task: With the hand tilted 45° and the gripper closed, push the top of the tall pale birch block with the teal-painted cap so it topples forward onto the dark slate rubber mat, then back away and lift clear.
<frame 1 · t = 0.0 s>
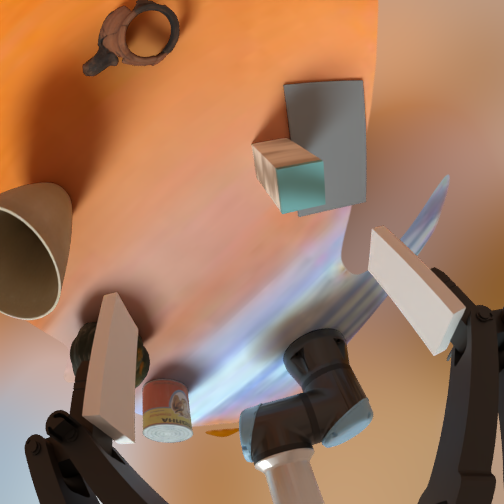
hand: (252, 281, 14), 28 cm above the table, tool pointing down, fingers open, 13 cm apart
plant pot: (51, 206, 36), on the table
vr controller: (131, 42, 27), on the table
squash: (111, 336, 52), on the table
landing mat: (330, 147, 41), on the table
canned food: (165, 390, 65), on the table
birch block: (271, 157, 40), on the table
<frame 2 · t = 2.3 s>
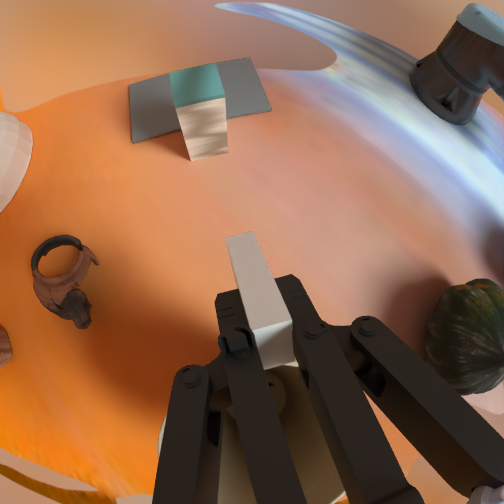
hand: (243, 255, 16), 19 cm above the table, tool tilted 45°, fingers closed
plant pot: (255, 397, 32), on the table
vr controller: (79, 288, 34), on the table
squash: (448, 337, 34), on the table
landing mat: (195, 95, 39), on the table
cupcake: (4, 347, 31), on the table
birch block: (206, 141, 38), on the table
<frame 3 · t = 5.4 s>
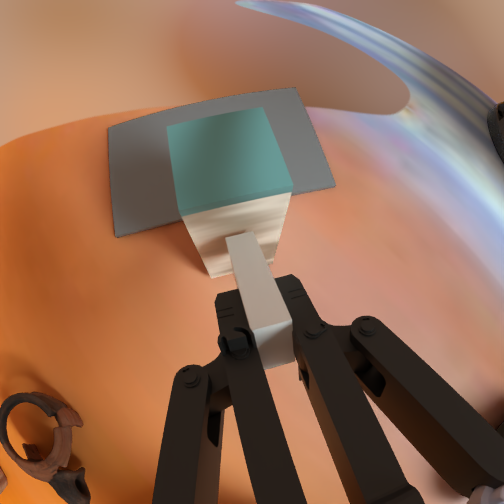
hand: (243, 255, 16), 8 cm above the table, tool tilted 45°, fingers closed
vr controller: (64, 441, 20), on the table
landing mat: (212, 151, 26), on the table
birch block: (234, 242, 25), on the table, tilted 7°
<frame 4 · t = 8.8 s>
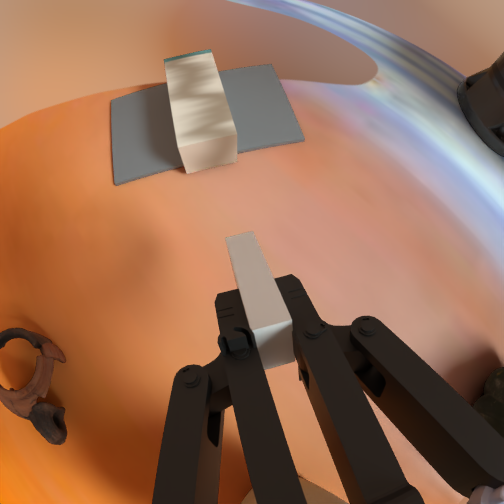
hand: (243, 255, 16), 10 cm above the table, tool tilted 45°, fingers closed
plant pot: (282, 500, 22), on the table
vr controller: (48, 384, 24), on the table
squash: (487, 410, 25), on the table
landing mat: (199, 115, 30), on the table
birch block: (209, 155, 26), point 3 cm above the table, tilted 90°, touching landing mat
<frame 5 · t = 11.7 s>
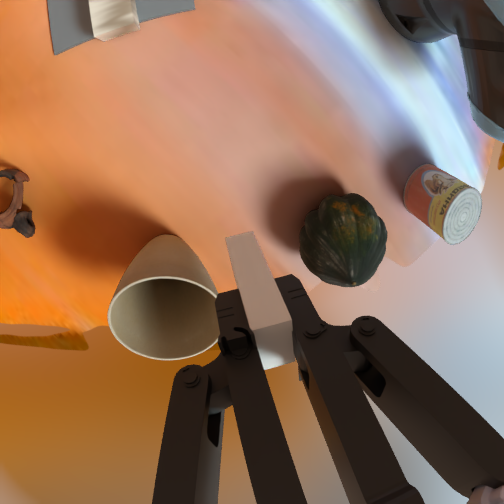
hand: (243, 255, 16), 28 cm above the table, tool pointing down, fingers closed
plant pot: (168, 253, 48), on the table
vr controller: (19, 198, 36), on the table
squash: (329, 224, 52), on the table
canned food: (423, 189, 52), on the table
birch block: (118, 32, 26), point 3 cm above the table, tilted 90°, touching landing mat
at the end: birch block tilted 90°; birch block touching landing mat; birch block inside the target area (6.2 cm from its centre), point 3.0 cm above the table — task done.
